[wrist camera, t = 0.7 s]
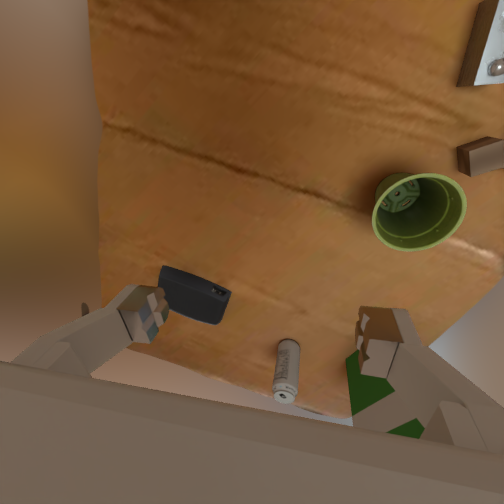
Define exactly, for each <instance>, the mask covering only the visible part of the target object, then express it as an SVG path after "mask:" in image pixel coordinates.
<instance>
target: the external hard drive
mask: <svg viewBox="0 0 504 504" xmlns="http://www.w3.org/2000/svg"><path fill="white" fill-rule="evenodd" d="M158 287H160V288H163V290H164V293H165V296H164V299H165V300H166V301H167V302H168V305H169V310H172V311H174V312H176V313H178V314H180V315H183V316H185V317H188V318H190V319H193V320H196V321H200V322H203V323H207V324H211V325H217V324H219V323H220V322H221V320H222V318H223V315H224V312H225V309H226V307H227V304H228V301H229V298H230V295H231V293H232V292H230V291H229V290H227V289H225V288H223V287H221V286H219V285H217V284H215V283H212V282H210V281H208V280H205V279H203V278H201V277H198V276H195V275H193V274H190V273H187V272H184V271H181V270H178V269H175V268H172V267H168V266H164V265H163V266H162V269H161V271H160V275H159V281H158Z"/></svg>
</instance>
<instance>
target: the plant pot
mask: <svg viewBox="0 0 504 504" xmlns="http://www.w3.org/2000/svg"><path fill="white" fill-rule="evenodd" d="M409 180H410V181H411V182H412V183H413V184H414V186H411V184H410V183H409V182H408V181H409ZM396 192H399V193H400V194H399V195H398V196H396V195H395V193H396ZM409 199H410V200H411V201H410V202H409V203H408V204H406V205H405V206H402V204H404V203H405V202H407V201H408V200H409ZM382 201H384V202H385V203H386V204H387V206H384V205H383V204H382V203H381V202H382ZM466 208H467V201H466V196H465V193H464V191H463V189H462V188H461V186H460V185H459V184H458V183H457V182H456V181H454V180H453V179H451V178H449V177H447V176H444V175H441V174H435V173H422V174H416V175H414V174H409V173H395V174H392V175H390V176H388V177H386V178H385V179H384V180H382V181H381V183H380V184H379V185H378V187H377V189H376V192H375V207H374V210H373V214H372V226H373V230H374V232H375V234H376V236H377V238H378V239H379V240H380V241H381V242H382V243H383V244H385V245H386V246H388V247H390V248H392V249H395V250H399V251H420V250H425V249H428V248H431V247H433V246H436V245H438V244H440V243H441V242H443V241H445V240H446V239H447V238H449V237H450V236H451V235H452V234H453V233H454V232H455V231H456V230H457V229H458V227H459V226H460V224H461V223H462V221H463V219H464V216H465V213H466Z"/></svg>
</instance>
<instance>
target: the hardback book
mask: <svg viewBox="0 0 504 504" xmlns="http://www.w3.org/2000/svg"><path fill="white" fill-rule="evenodd" d="M358 356H359V350H357V351H356V352H354V353H353V354H352V355H350V356H349V357H348V358H347V359H346V368H347V377H348V385H349V394H350V402H351V411H352V420H353V427H357V428H363V429H368V430H373V431H379V432H384V433H390V434H395V435H400V436H406V437H411V438H416V439H419V438H420V437H421V435H422V433H423V431H424V430H425V428H424V427H423V425H422V424H421V423H420V422H419V420H418V419H417V418H416V416H415V415H414V414H413V413H412V411H411V410H410V409H409V408H408V406H407V405H406V404H405V402H404V401H403V400H402V399H401V397H400V396H399V395H398V394H397V392H396V391H395V390H394V388H393V387H392V386H391V385H390V383H389V382H388V381H387V379H386V378H381V377H375V376H369V375H363V374H361V372H360V366H359V361H358Z"/></svg>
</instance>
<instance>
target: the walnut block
mask: <svg viewBox="0 0 504 504" xmlns="http://www.w3.org/2000/svg"><path fill="white" fill-rule="evenodd" d="M457 156H458V167H459V171H460V172H462V173H464V174H466V175H468V176H470V177H473V176H476V175H479V174H483V173H486V172H489V171H493V170H496V169H499V168H503V167H504V140H502V139H497V138H493V137H485V138H482V139H479V140H476V141H473V142H470V143H467V144H464V145H461V146H459V147H457Z"/></svg>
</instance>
